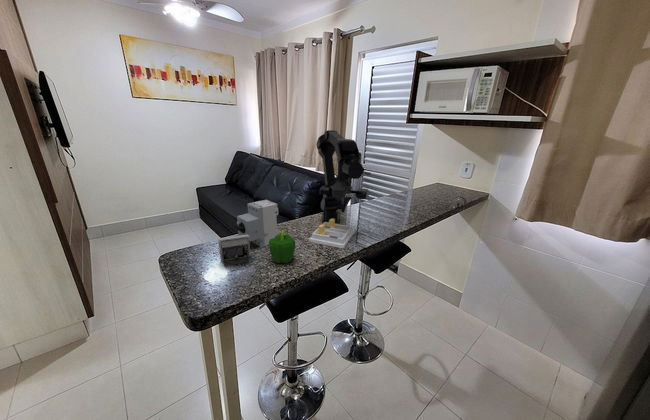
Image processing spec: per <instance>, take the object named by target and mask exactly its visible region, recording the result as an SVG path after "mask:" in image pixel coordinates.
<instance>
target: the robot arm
mask: <svg viewBox="0 0 650 420" xmlns="http://www.w3.org/2000/svg"><path fill="white" fill-rule="evenodd" d="M316 148H317V152H318V155H319V156H320V157H321V160H322V167H323V173H324V183H325V185H322V186H321V187H320V188H319V194H320V195H322V199H321V202H320V209H321V210H322V212H323V214H322V217H323V218H322V220H321V223H324V222H329V220H330V219H331V218H332V219H335V224H337V223H338V222H339V220H340V212H339V210H341V213H343V214H345V212H346V210H347V207H348V205H349V202H350V201H351V200H352V199H354V197H355V198H356V199H359V200H367V199H368V197H370V190H369V189H368V188H360V187H359V188H358V189H357V190H355V189H353V183H352V182H353V179H354V180H358V179H359V178H360V179H361V177H362V176H363V174H364V166H363V165H362V163H361V162H360V160H361V154H360V150H359V147H358V144H357V142H356V141H355V139H349V138H345V137H343V136H342V135H341V134H340V133H338V131H337V130H332V129H331V130H330V129H328V130H325V131H324V133H323V134H322V135H320V136H318V138H317V140H316ZM334 153H335V154H336V156H337V157H336V160H337V176H336V175H335V167H334V158H333V156H334Z"/></svg>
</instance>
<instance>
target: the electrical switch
mask: <svg viewBox="0 0 650 420" xmlns="http://www.w3.org/2000/svg"><path fill="white" fill-rule="evenodd" d="M249 240H250V237H249V235H241V236H240V235H234V236H226V237H220V238H218V240H217V241H218V249H219V257H220V258H219V259H220V261H221V262H223V265H224V266H231V265H235V264H241V263H246V262H250V257H251V247H250V245H251V241H250V242H249Z"/></svg>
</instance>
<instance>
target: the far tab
mask: <svg viewBox="0 0 650 420" xmlns="http://www.w3.org/2000/svg"><path fill="white" fill-rule="evenodd" d="M335 224H336V223H335V219H332V218H331V219H330V220H329V225H328V227H332V228H336V225H335Z"/></svg>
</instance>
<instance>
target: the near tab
mask: <svg viewBox="0 0 650 420" xmlns="http://www.w3.org/2000/svg"><path fill="white" fill-rule="evenodd" d="M322 224H323V223H322ZM322 224H320V225H318V228H317V229H318V232H317V234H323V235H326V231H325V225H322Z"/></svg>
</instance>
